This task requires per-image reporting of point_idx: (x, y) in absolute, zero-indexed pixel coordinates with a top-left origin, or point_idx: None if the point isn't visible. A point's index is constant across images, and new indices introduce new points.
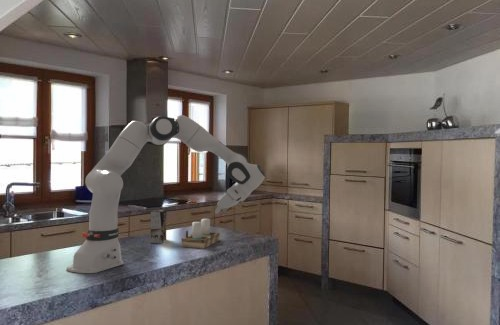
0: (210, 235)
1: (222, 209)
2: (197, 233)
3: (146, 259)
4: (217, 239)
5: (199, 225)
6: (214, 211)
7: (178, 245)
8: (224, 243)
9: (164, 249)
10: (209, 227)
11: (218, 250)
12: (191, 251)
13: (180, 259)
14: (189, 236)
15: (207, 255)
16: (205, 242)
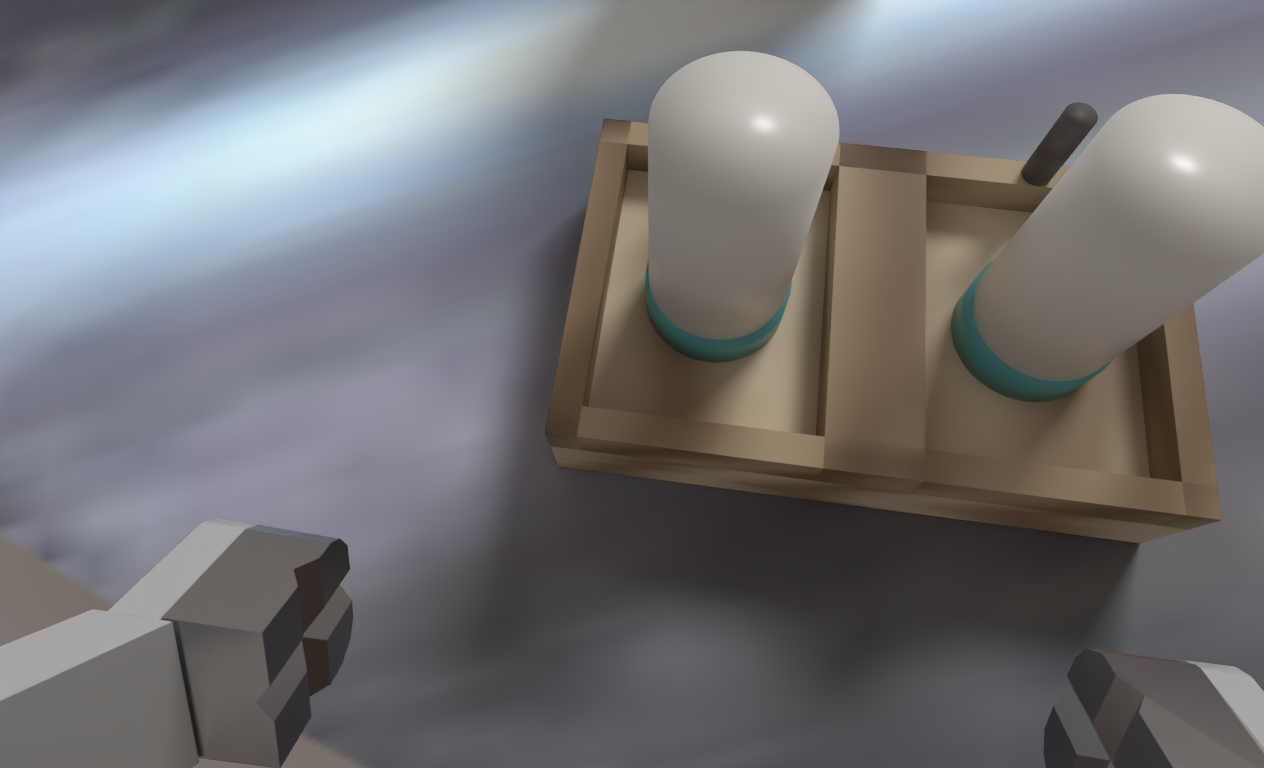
0: (1123, 387)
1: (1087, 684)
2: (655, 267)
3: (33, 64)
4: (1069, 526)
5: (685, 217)
6: (213, 523)
7: None
8: (953, 682)
9: (449, 71)
10: (1102, 336)
11: (480, 704)
12: (385, 362)
13: (3, 360)
14: None
15: None
16: (605, 453)
